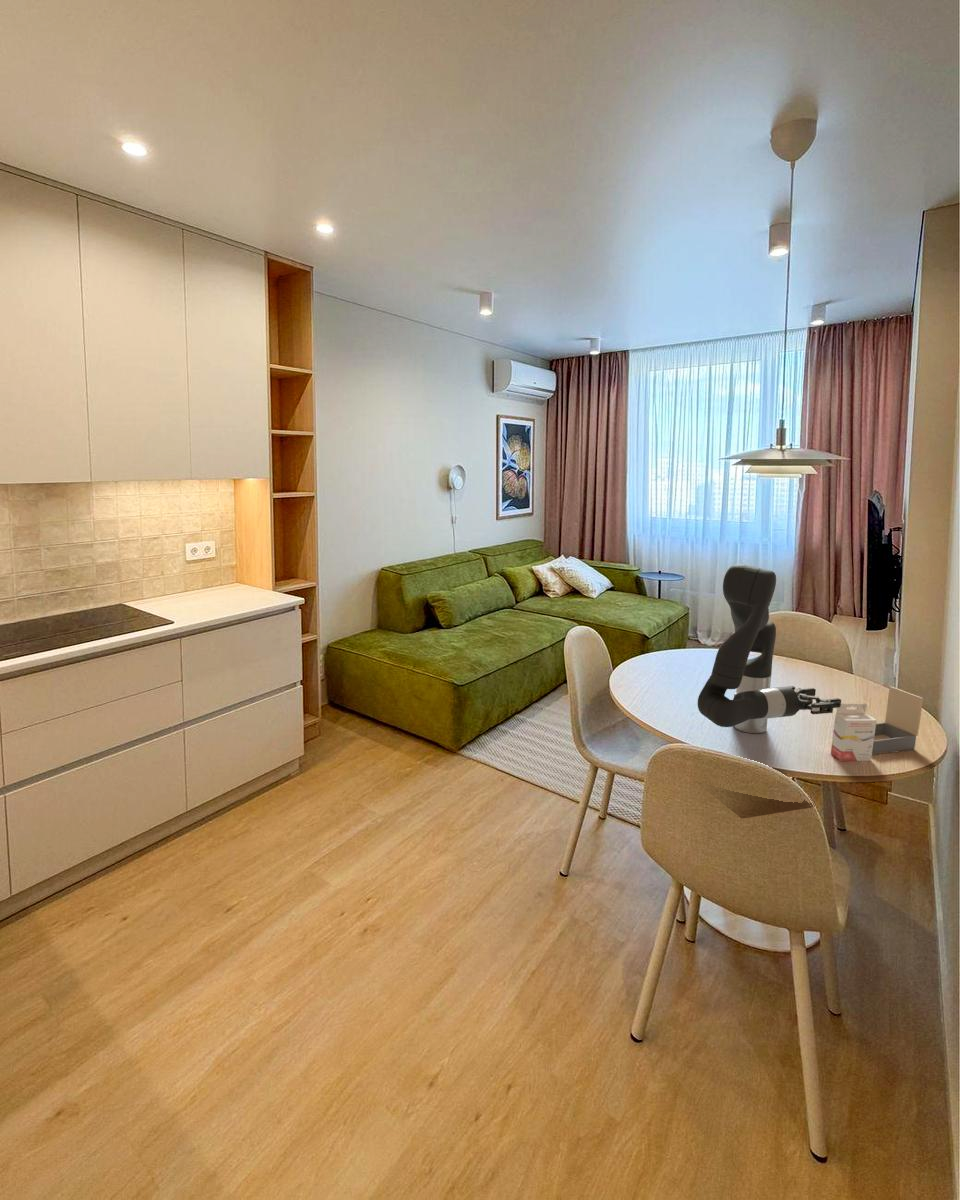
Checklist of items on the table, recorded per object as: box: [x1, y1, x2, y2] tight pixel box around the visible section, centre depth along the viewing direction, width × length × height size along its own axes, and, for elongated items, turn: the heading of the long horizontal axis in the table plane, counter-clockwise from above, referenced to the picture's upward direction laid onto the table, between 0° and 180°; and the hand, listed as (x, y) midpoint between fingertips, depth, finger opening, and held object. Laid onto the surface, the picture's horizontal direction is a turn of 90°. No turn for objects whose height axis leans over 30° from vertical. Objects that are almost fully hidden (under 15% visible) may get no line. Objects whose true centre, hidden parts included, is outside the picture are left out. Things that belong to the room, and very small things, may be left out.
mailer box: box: [872, 686, 924, 756], centre depth 176 cm, size 10×15×15 cm
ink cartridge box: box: [830, 702, 877, 762], centre depth 168 cm, size 9×5×15 cm, turn 92°
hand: (826, 697), depth 163 cm, fingers open, 8 cm apart
